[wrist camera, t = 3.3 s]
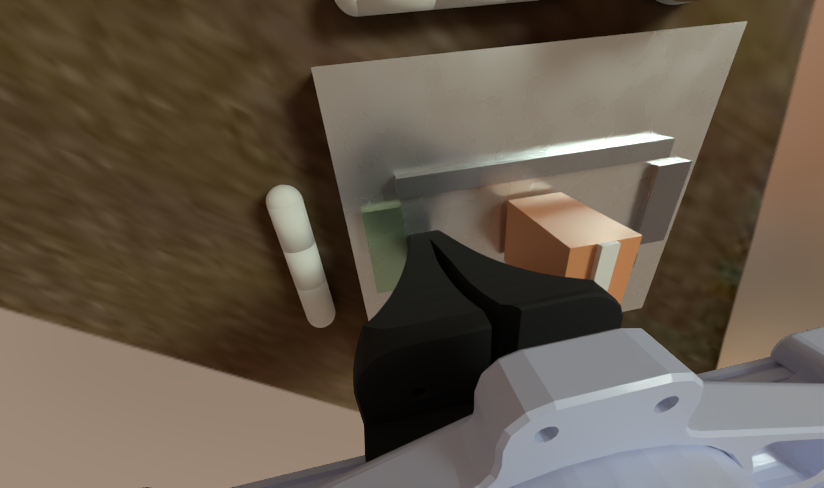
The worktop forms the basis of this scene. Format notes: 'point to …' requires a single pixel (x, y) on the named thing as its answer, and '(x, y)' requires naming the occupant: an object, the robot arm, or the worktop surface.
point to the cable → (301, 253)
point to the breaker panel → (520, 140)
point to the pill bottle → (674, 1)
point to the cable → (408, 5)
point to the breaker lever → (569, 241)
